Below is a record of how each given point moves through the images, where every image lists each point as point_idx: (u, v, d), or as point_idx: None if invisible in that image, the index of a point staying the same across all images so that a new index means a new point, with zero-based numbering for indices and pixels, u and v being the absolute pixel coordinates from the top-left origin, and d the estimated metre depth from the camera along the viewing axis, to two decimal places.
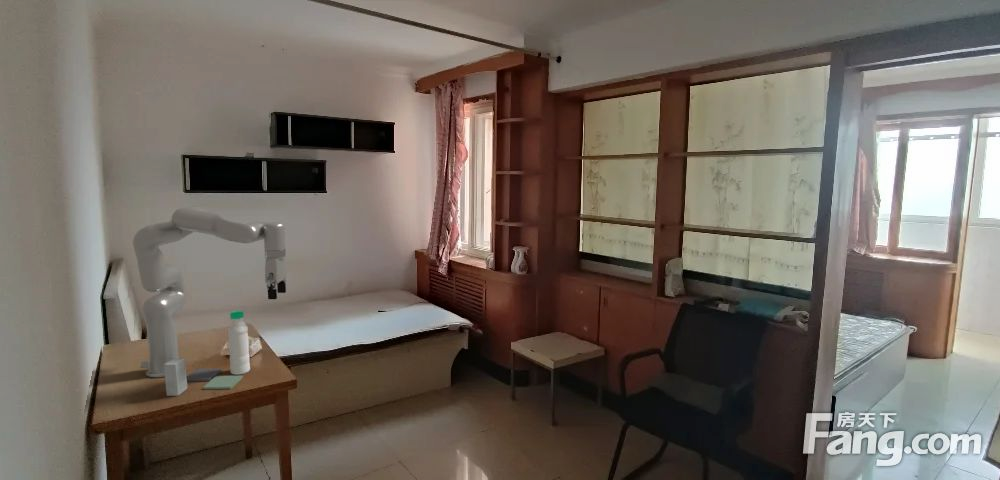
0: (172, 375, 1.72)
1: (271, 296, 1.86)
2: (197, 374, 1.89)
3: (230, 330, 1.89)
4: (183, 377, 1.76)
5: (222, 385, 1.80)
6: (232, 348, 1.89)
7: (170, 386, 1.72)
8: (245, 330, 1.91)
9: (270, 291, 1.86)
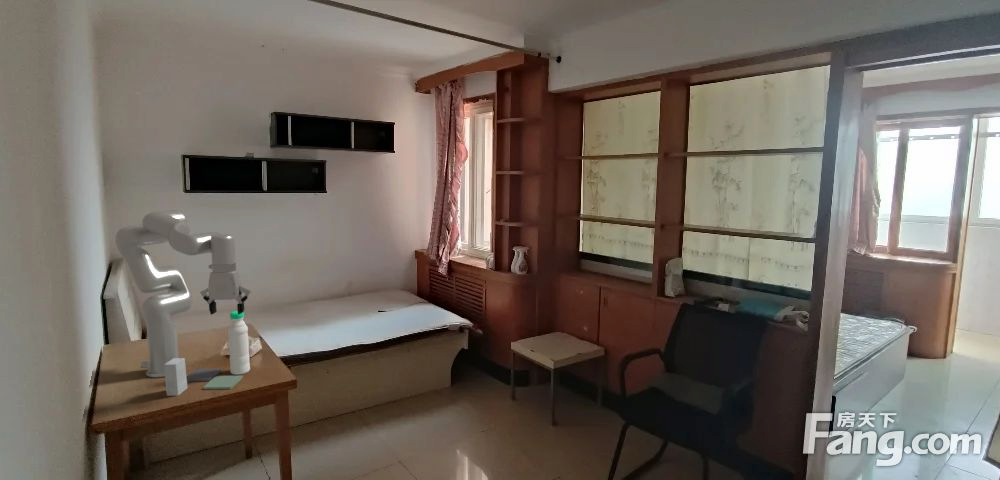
0: (172, 375, 1.72)
1: (243, 309, 1.78)
2: (197, 374, 1.89)
3: (230, 330, 1.89)
4: (183, 377, 1.76)
5: (222, 385, 1.80)
6: (232, 348, 1.89)
7: (170, 386, 1.72)
8: (245, 330, 1.91)
9: (242, 305, 1.78)
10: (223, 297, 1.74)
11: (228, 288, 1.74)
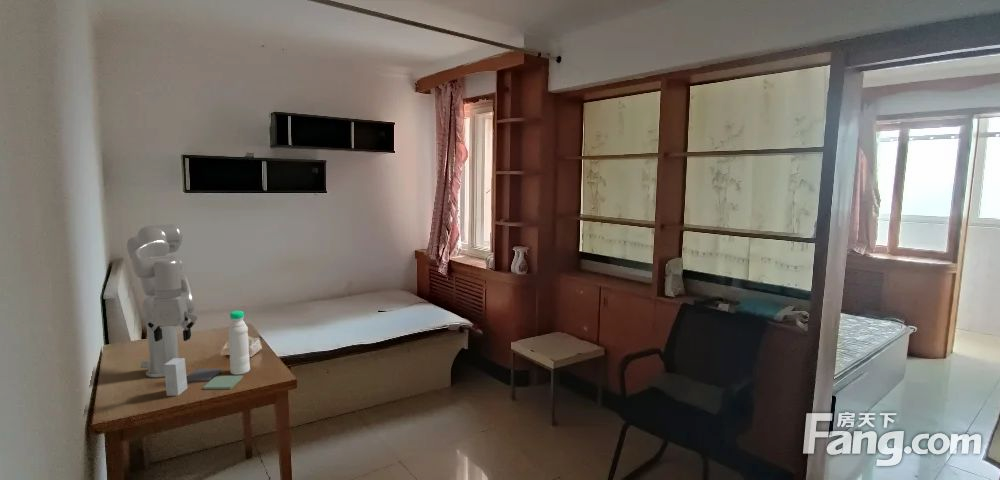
0: (172, 375, 1.72)
1: (189, 336, 1.73)
2: (197, 374, 1.89)
3: (230, 330, 1.89)
4: (183, 377, 1.76)
5: (222, 385, 1.80)
6: (232, 348, 1.89)
7: (170, 386, 1.72)
8: (245, 330, 1.91)
9: (188, 331, 1.72)
10: (167, 324, 1.69)
11: (172, 314, 1.69)
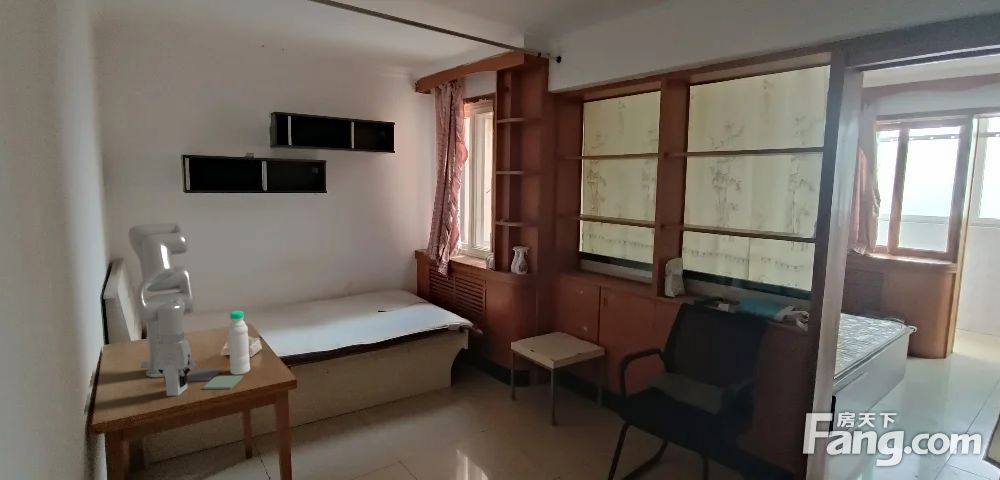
0: (172, 375, 1.72)
1: (186, 381, 1.75)
2: (197, 374, 1.89)
3: (230, 330, 1.89)
4: None
5: (222, 385, 1.80)
6: (232, 348, 1.89)
7: (170, 386, 1.72)
8: (245, 330, 1.91)
9: (185, 377, 1.75)
10: None
11: (176, 358, 1.71)
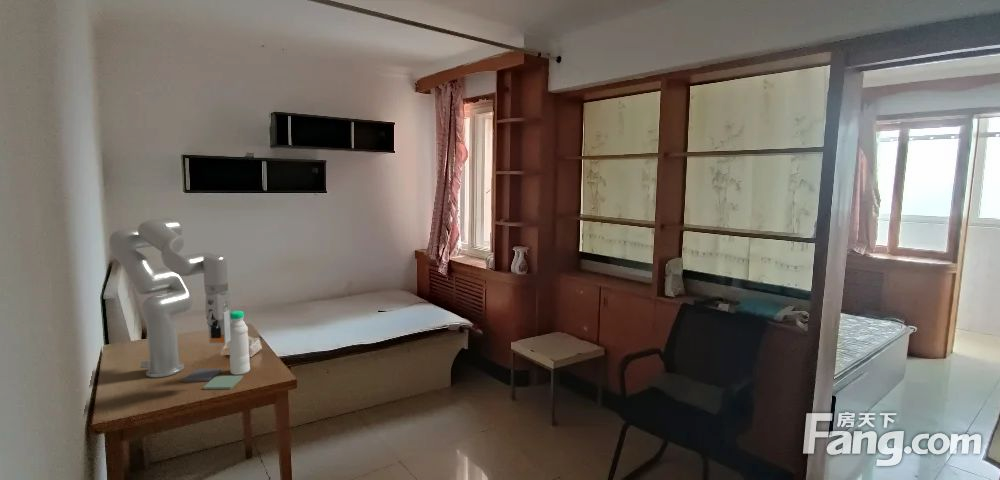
0: (228, 321, 1.81)
1: None
2: (197, 374, 1.89)
3: (230, 330, 1.89)
4: None
5: (222, 385, 1.80)
6: (232, 348, 1.89)
7: (227, 333, 1.81)
8: (245, 330, 1.91)
9: None
10: None
11: (228, 304, 1.82)
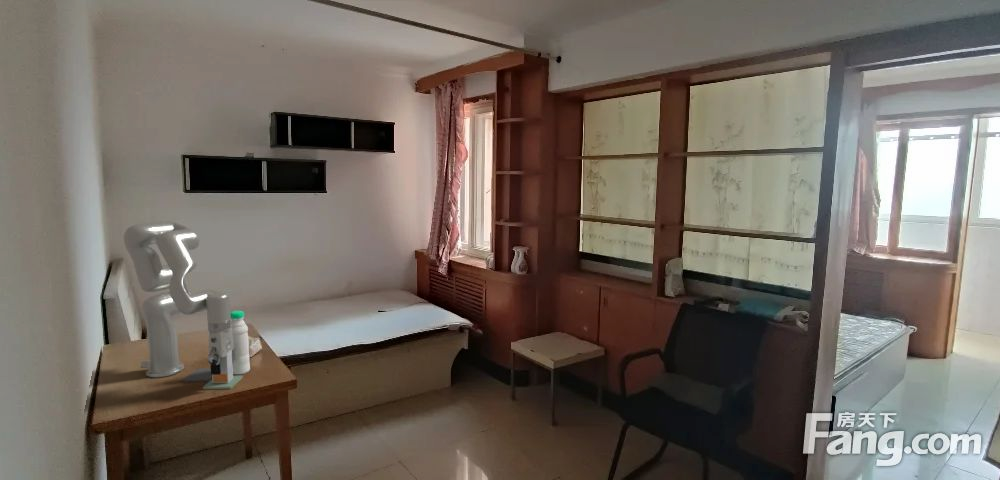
0: (230, 361, 1.83)
1: None
2: (197, 374, 1.89)
3: None
4: None
5: (222, 385, 1.80)
6: None
7: (230, 372, 1.83)
8: (245, 330, 1.91)
9: None
10: None
11: (231, 341, 1.84)
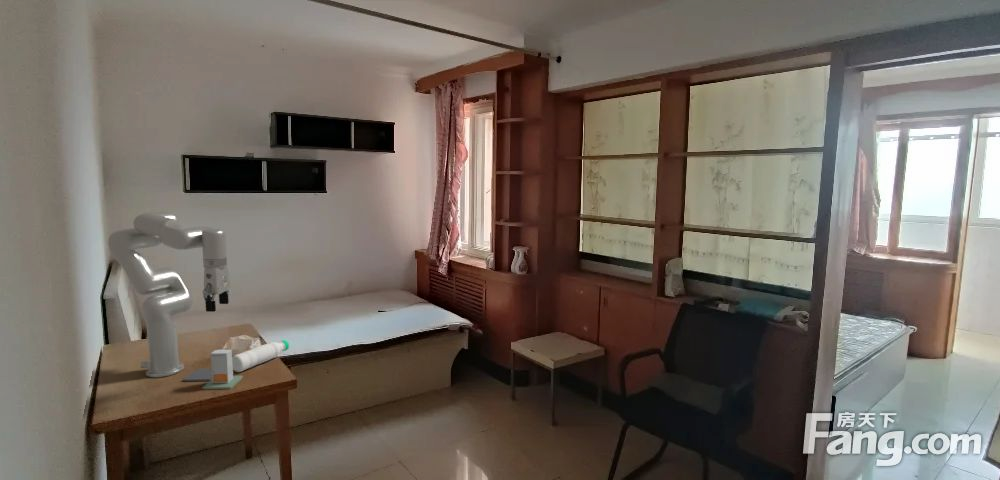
0: (230, 361, 1.83)
1: None
2: (197, 374, 1.89)
3: (272, 342, 2.09)
4: None
5: (222, 385, 1.80)
6: (259, 347, 2.02)
7: (230, 372, 1.83)
8: (278, 351, 2.07)
9: None
10: (225, 289, 1.79)
11: (227, 279, 1.80)
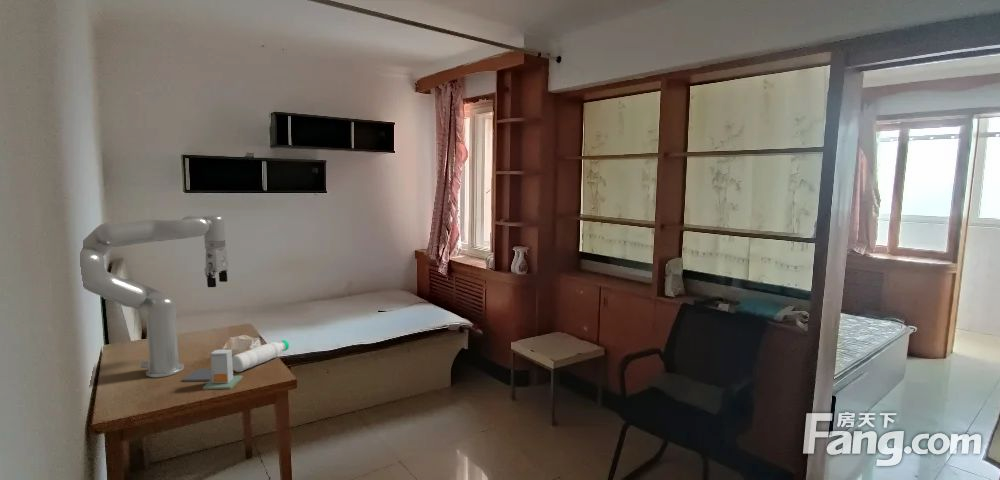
0: (230, 361, 1.83)
1: None
2: (197, 374, 1.89)
3: (272, 342, 2.09)
4: None
5: (222, 385, 1.80)
6: (259, 347, 2.02)
7: (230, 372, 1.83)
8: (278, 351, 2.07)
9: None
10: (224, 268, 2.04)
11: (225, 259, 2.06)
